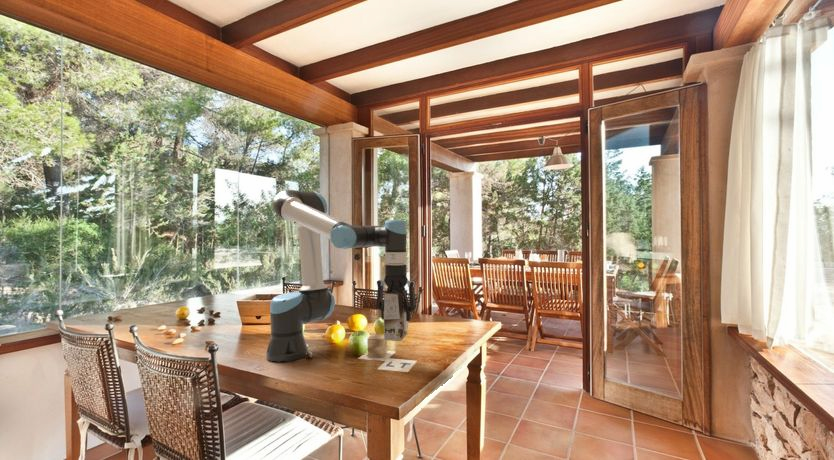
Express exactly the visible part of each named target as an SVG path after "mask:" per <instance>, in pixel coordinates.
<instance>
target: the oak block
mask: <svg viewBox="0 0 834 460" xmlns="http://www.w3.org/2000/svg"><path fill="white" fill-rule="evenodd" d="M366 340H367V351H368V357H373V358H384V356H385V355H386V353H387V351H388V349H387V347H388V346H387V341H388V340H384V333H379V334H378V333H370V335H369V336H368V337H367V339H366Z"/></svg>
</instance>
